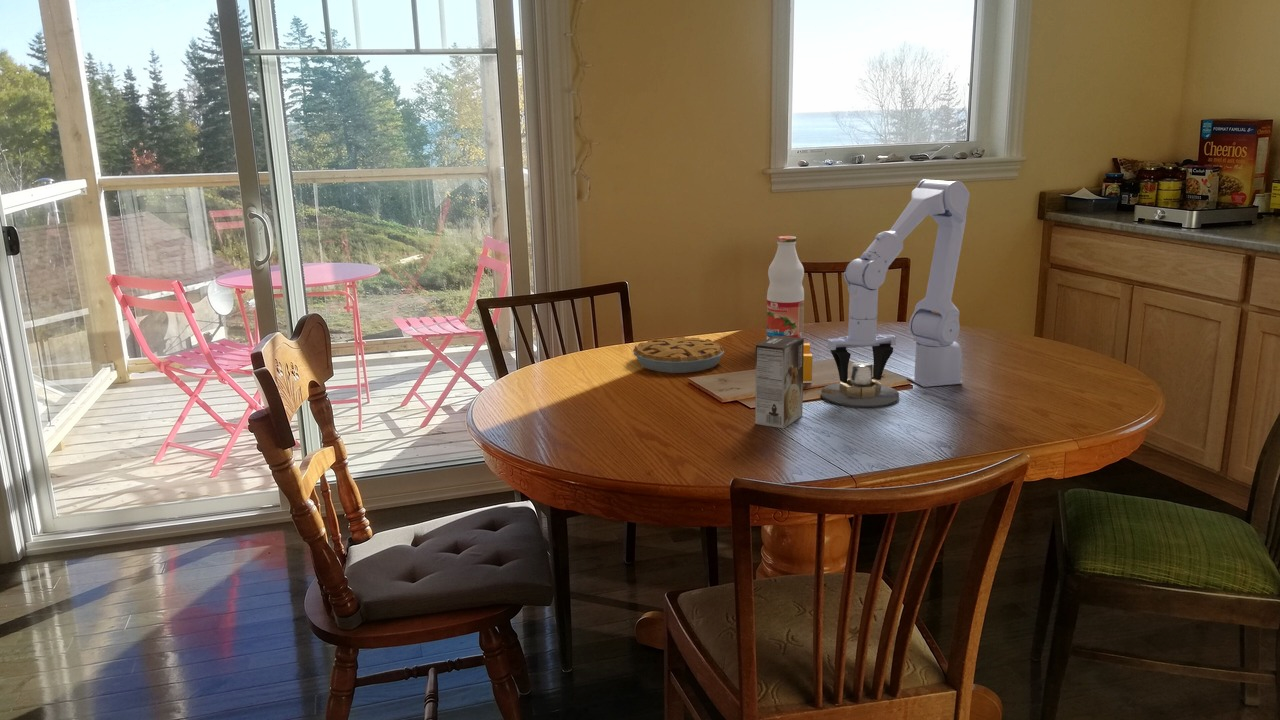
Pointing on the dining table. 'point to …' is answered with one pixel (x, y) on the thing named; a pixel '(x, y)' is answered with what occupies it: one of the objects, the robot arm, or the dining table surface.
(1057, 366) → the dining table surface
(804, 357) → the pipe clamp
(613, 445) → the dining table surface
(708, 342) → the pie
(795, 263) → the fruit juice
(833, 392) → the ring collar
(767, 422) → the coffee box
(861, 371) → the piston
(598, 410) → the dining table surface
